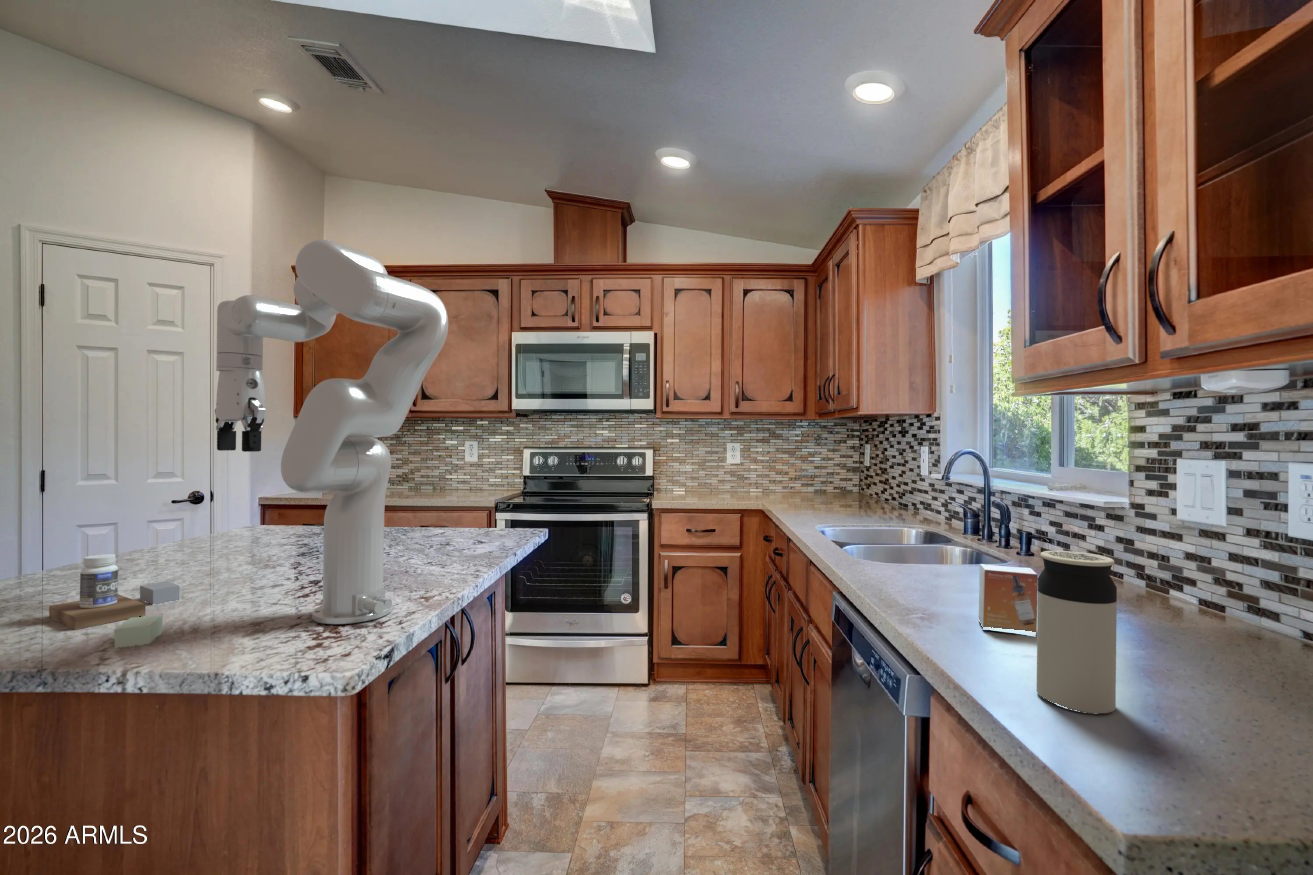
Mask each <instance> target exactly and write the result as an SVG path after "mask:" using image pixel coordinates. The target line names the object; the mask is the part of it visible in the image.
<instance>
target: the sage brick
mask: <svg viewBox="0 0 1313 875" xmlns="http://www.w3.org/2000/svg"><path fill="white" fill-rule="evenodd" d="M163 615H164V614H157V615H148V616H146V615H145V616H141V617H133V618H129V619H126V620H125V621H124V622H123V623H121V624H120V625H119V626H117V627H116V628H114V649H117V648H116V647H120V648H128V647H127V646H129V647H136V646H135V645H139V646H144V645H143V644H148V645H150V644H151V643H152V642H153V641H154V640H156V639H155V638H156V637H157V636H158V637H159V636H161V634H162V633H163V623H164V622H163V617H164V616H163ZM158 637H157V638H158ZM149 643H150V644H149Z"/></svg>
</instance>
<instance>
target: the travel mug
mask: <svg viewBox="0 0 1313 875" xmlns="http://www.w3.org/2000/svg"><path fill="white" fill-rule="evenodd" d="M1039 556H1040V557H1041V558H1042V560H1043V561H1042V562H1043V566H1044V567H1043V570H1042V571H1041V573H1040V574H1039V575H1038V591H1037V636H1036V693H1037V692H1038V693H1039V694H1038V693H1037V694H1038V696H1040V697H1041V696H1042V697H1044V698H1045V699H1047V700H1049V701H1051V702H1053V703H1057V704H1059V705H1061V706H1064V707H1067V708H1068V709H1072V710H1077V711H1080V712H1086V713H1104V714H1109V713H1111V712H1114V711H1115V710H1116V694H1117V693H1116V692H1117V689H1116V687H1117V682H1116V681H1117V616H1118V614H1117V611H1118V609H1117V605H1118V604H1117V603H1118V602H1117V599H1118V587H1117V586H1116V583H1115V582H1114V580H1113V579H1112V577H1111V570H1112V567H1113V565H1114V564H1115V560H1114V559H1113V558H1111V557H1108V556H1104V555H1101V554H1095V553H1091V552H1082V551H1072V550H1044V551H1042V552H1040V554H1039ZM1042 697H1041V698H1042ZM1044 698H1043V699H1044ZM1045 699H1044V700H1045ZM1047 700H1046V701H1047ZM1086 713H1085V714H1086Z"/></svg>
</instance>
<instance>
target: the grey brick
mask: <svg viewBox="0 0 1313 875" xmlns="http://www.w3.org/2000/svg"><path fill="white" fill-rule="evenodd" d="M141 600H142V601H141ZM176 600H178V601H180V585H179V584H175V583H172V582H170V581H166V580H165V581H160V582H154V583H148V584H141V585H139V601H141V602H143V601H146V602H148V603H147V604H149V603H150V604H149V605H151V604H157V605H161V604H160V603H162V604H165V603H164V602H167V603H170V602H169V601H173V602H177V601H176ZM146 602H145V603H146Z"/></svg>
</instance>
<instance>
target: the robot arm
mask: <svg viewBox="0 0 1313 875" xmlns="http://www.w3.org/2000/svg"><path fill="white" fill-rule="evenodd" d="M295 259H296V260H295V264H294V265H295V266H294V268H295V272H296V275H297V278H296V279H295V280H294V284H293V295H294V300H296V303H297V304H295V303H292V302H286V301H281V300H276V299H273V298H267V297H262V296H258V295H251V294H247V295H242V296H239V297H237V298H236V299H234V300H230V299H229V300H224V301H221V302H219V304H218V306H217V310H216V361H215V362H216V363H215V364H216V372H219V373H218V378H217V379H218V380H217V387H216V388H217V390H216V400H215V401H216V402H215V403H216V405H215V406H216V407H215V409H214V414H215V423H216V426H215V429H216V450H217V451H236V450H237V431H236V430H235V428H236V426H237V423H238V422H241V425H242V427H243V429H244V430H241V452H243V453H245V452H246V453H247V452H248V453H249V452H253V453H254V452H256V453H257V452H260V451H262V431H263V429H264V427H263V424H264V422H265V420H266V416H267V405H266V389H265V388H266V387H265V381H264V376H263V367H264V366H263V361H264V352H263V351H264V338H266V339H267V338H269V339H274V340H281V341H284V342H292V343H303V342H307V341H310V340H311V341H312V340H314V339H316V338H319V337H321V336H323V335H325V334H327V333H328V332H329V331H330V330H331V329H332V327H333V325H334V324H335V322H336V319H337V315H339V314H341V315H342V316H345V318H346V317H347V318H348V319H350V320H353V321H355V322H359V323H363V324H367V325H371V326H377V327H380V328H386V329H391V330H396V331H397V335H396V336H394V337H393V338H391V339H390V340H388V341H387V342H386V343H385V344H384V345H382V346H381V347H380V349H379V350H378V351H377V352H376V354H375V355H374V357H373V359H372V360H371V363H370V366H369V368H368V370H367V372H366V373H365V374H364V376H363V377H362V378H360V379H351V378H341V377H340V378H339V377H335V378H327V379H325V380H322V381H321V382H319V383H318V384H317V385H315V386H314V387H313V388H312V389H311V390H310V392H309V393H308V394H307V396H306V398H305V400H304V401H303V402H304V403H303V405H302V407H301V409H300V411H299V414H298V415H297V418H296V421H295V422H294V425H293V428H292V430H291V432H290V435H289V437H288V439H287V441H286V444H285V447H284V449H283V452H282V456H281V461H280V472H281V473H280V474H281V478H282V480H283V482H284V483H285V485H286V486H287V487H288V488H289V489H290V490H292V491H295V492H298V493H303V494H317V493H318V494H319V493H327V492H330V493H331V492H333V495H332V496H331V498H330V500H329V502H328V503H327V505H326V508H325V511H324V516H323V543H322V544H323V549H322V550H323V553H322V554H323V557H322V558H323V560H322V562H323V563H322V567H323V568H322V605H321V606H318V607H316V608H315V609H313V611H312V612H311V617H312V619H311V620H313V621H314V622H317V623H319V624H324V625H325V624H327V625H348V624H358V623H362V622H369V621H372V620H377V619H380V618H382V617H385V616H387V615H388V614H390V613H391V612H392V610H393V600H392V599H391V598H386V588H384V553H385V551H384V550H385V549H384V546H385V545H384V542H385V508H386V507H385V506H386V505H385V504H386V494H387V488H388V483H389V480H390V475H391V468H392V457H391V453H390V450H389V448H388V447H387V445H386V444H385V443H384V442H382V441H381V440H379V439H378V438H385V437H389V436H392V435H394V434H396V433H397V432H398V431H399V430H400V429H401V428H402V425H403V423H404V422H405V420H406V417H407V416H408V414H409V411H410V409H411V407H412V405H413V403H414V400H415V399H416V397H417V395H418V393H419V390H420V388H421V386H422V383H423V381H424V379H425V377H426V375H427V373H428V371H429V370H430V368H431V367H432V365H433V363H434V362H435V360H436V359H437V357H438V356H439V354H440V352H441V350H442V349H443V347H444V345H445V343H446V340H447V338H448V333H449V332H448V331H449V317H448V316H449V315H448V312H447V311H448V310H447V308H446V305H445V304H444V302H443V301H442V300H441V298H440V297H439V296H438V295H437V294H436V293H434V292H433V291H432V290H430V289H428V288H426V287H424V286H422V285H420V284H417V283H414V282H412V281H409V280H405V279H402V278H400V277H399V278H398V277H395V276H393V275H389V274H388V272H387V269H386V268H385V265H383V263H382V262H381V261H379V260H378V258H376V257H374V256H372V255H371V254H369V253H367V252H365V251H361V250H359V249H355V248H352V247H350V246H347V245H344V244H340V243H338V242H334V241H333V240H328V239H316V240H312V241H310V242H308V243H306V244H305V245H304V246H303V247H302V248H300V250H299V251H298V254H297V256H296V258H295Z"/></svg>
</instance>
